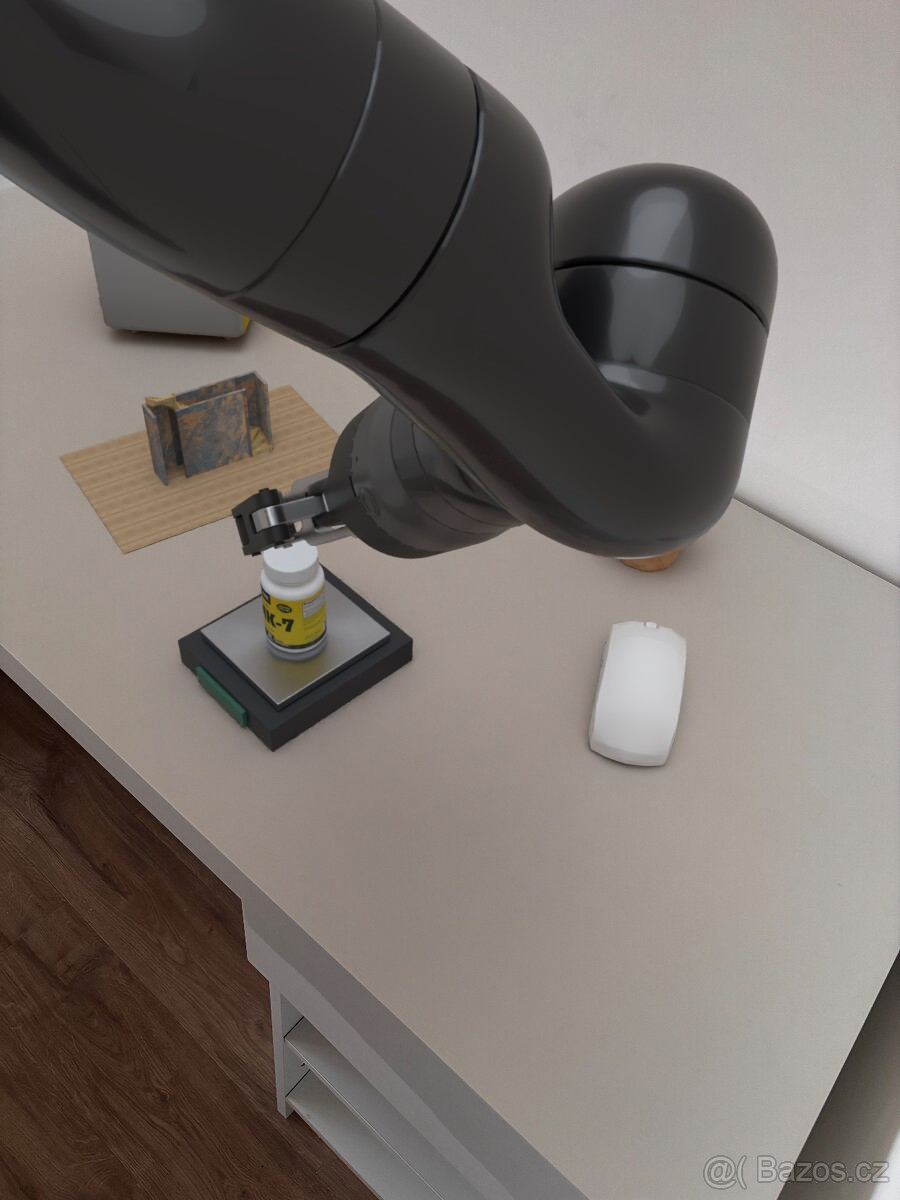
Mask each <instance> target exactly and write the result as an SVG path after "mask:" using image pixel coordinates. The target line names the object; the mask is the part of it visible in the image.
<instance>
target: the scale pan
mask: <svg viewBox="0 0 900 1200" xmlns="http://www.w3.org/2000/svg"><path fill="white" fill-rule="evenodd" d="M325 598H326V621H327V631H326V635H325V637H324V639H323V640H322V641H321V643H320V644H318V645H317V646H316V647H314V648H313V649H311V650H308V651H305V652H299V653H291V652H286V651H283V650H280V649H278V648H276V647H275V646H273V645H272V644H271V643H270V642H269V640H268V638H267V636H266V631H265V622H264V613H263V604H262V596H260V597H258V598H257V599H255V600H253V601H251V602H250V603H248V604H246V605H244V606H242V607H241V608H239V609H237V610H235V611H234V612H232V613H230V614H228V615H226V616H225V617H223V618H221V619H219V620H217V621H216V622H214V623H212V624H210V625H209V626H207V627H205V628H203V629H201V630H200V633H201V637H202V638H203V639H204V640H205V641H206V642H207V643H208V644H209V645H210V646H211V647H212V648H213V649H214V650H215V651H216V652H218V653H219V654H220V655H221V656H222V657H223V658H224V659H225V660H226V661H227V662H228V663H229V664H230V665H231V666H232V667H233V668H234V669H235V670H236V671H237V672H238V673H239V674H240V675H242V676H243V677H244V678H245V679H246V680H247V681H248V682H249V683H250V684H251V685H252V686H253V687H254V688H255V689H256V690H257V691H258V692H259V693H260V694H261V695H262V696H263V697H264V698H266V699H267V700H268V701H269V702H270V703H271V704H272V705H273V706H274V707H275V708H276V709H277V710H278V711H279V710H281V709H282V708H284V707H286V706H287V705H289V704H290V703H292V702H293V701H295V700H297V699H298V698H300V697H301V696H303V695H304V694H306V693H308V692H309V691H311V690H312V689H314V688H315V687H317V686H319V685H320V684H322V683H323V682H325V681H326V680H328V679H330V678H331V677H333V676H334V675H336V674H337V673H339V672H341V671H342V670H344V669H345V668H347V667H348V666H350V665H352V664H353V663H355V662H356V661H358V660H359V659H361V658H363V657H364V656H366V655H367V654H369V653H370V652H372V651H374V650H375V649H377V648H378V647H380V646H381V645H383V644H385V643H386V642H388V641H389V640H390V633H389V632H388V631H387V630H386V629H385V628H383V627H382V626H381V625H380V624H379V623H377V622H376V621H375V620H374V619H373V618H371V617H370V616H369V615H368V614H366V613H365V612H364V611H363V610H362V609H360V608H359V607H358V606H357V605H356V604H354V603H353V602H352V601H351V600H350V599H348V598H347V597H346V596H345V595H344V594H342V593H341V592H340V591H339V590H337V589H336V588H335V587H334V586H333V585H331V584H330V583H329V582H328V581H327V580H325Z"/></svg>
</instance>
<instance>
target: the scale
mask: <svg viewBox="0 0 900 1200" xmlns="http://www.w3.org/2000/svg"><path fill="white" fill-rule="evenodd" d="M319 564H320V565H321V567H322V569H323V572H324V577H325V580H327V581H328V582H329V583H330V584H331V585H333V586H334V587H335V588H336V589H337V590H339V591H340V592H341V593H342V594H344V595H345V596H346V597H347V598H348V599H350V600H351V601H352V602H353V603H354V604H356V605H357V606H358V607H359V608H360V609H362V610H363V611H364V612H365V613H366V614H368V615H369V616H370V617H371V618H373V619H374V620H375V621H376V622H377V623H379V624H380V625H381V626H382V627H383V628H385V629H386V630H387V631H388V632H389V633H390V640H389V641H388V642H386V643H385V644H383V645H381V646H380V647H378V648H377V649H375V650H374V651H372V652H370V653H369V654H367V655H366V656H364V657H363V658H361V659H359V660H358V661H356V662H355V663H353V664H352V665H350V666H348V667H347V668H345V669H344V670H342V671H341V672H339V673H337V674H336V675H334V676H333V677H331V678H330V679H328V680H326V681H325V682H323V683H322V684H320V685H319V686H317V687H315V688H314V689H312V690H311V691H309V692H308V693H306V694H304V695H303V696H301V697H300V698H298V699H297V700H295V701H293V702H292V703H290V704H289V705H287V706H286V707H284V708H282V709H281V710H279V711H278V710H277V709H276V708H275V707H274V706H273V705H272V704H271V703H270V702H269V701H268V700H267V699H266V698H264V697H263V696H262V695H261V694H260V693H259V692H258V691H257V690H256V689H255V688H254V687H253V686H252V685H251V684H250V683H249V682H248V681H247V680H246V679H245V678H244V677H243V676H242V675H240V674H239V673H238V672H237V671H236V670H235V669H234V668H233V667H232V666H231V665H230V664H229V663H228V662H227V661H226V660H225V659H224V658H223V657H222V656H221V655H220V654H219V653H218V652H216V651H215V650H214V649H213V648H212V647H211V646H210V645H209V644H208V643H207V642H206V641H205V640H204V639H203V638H202V637H201V633H200V630H201V629H203V628H205V627H207V626H209V625H210V624H212V623H214V622H216V621H217V620H219V619H221V618H223V617H225V616H226V615H228V614H230V613H232V612H234V611H235V610H237V609H239V608H241V607H242V606H244V605H246V604H248V603H250V602H251V601H253V600H255V599H257V598H258V597H260V596H262V594H261V593H259V594H258V595H256V596H254V597H252V598H251V599H249V600H247V601H245V602H244V603H242V604H240V605H238V606H236V607H234V608H232V609H231V610H229V611H227V612H225V613H224V614H221V615H220V616H219V617H217V618H215V619H213V620H211V621H209V622H207V623H206V624H204V625H202V626H201V627H199V628H197V629H195V630H193V631H192V632H190V633H188V634H186V635H185V636H183V637H181V638H179V639H178V640H177V644H178V649H179V653H180V654H179V655H180V661H181V663H183V665H184V666H186V667H187V668H188V669H189V671H191V672H192V673H193V675H195V676H196V677H197V682H198V683H199V684H200V685H201V686H202V687H203V688H204V689H205V690H206V691H207V692H208V693H209V694H210V696H212V697H213V698H214V699H215V700H216V701H217V702H218V703H219V704H220V705H221V706H222V708H224V709H225V710H226V711H227V712H228V713H229V714H230V715H231V716H232V717H233V718H234V719H235V720H236V722H238V723H239V724H240V725H241V726H242V727H243V728H245V727H247V728H248V729H249V730H250V731H251V732H252V733H253V734H254V735H256V737H257V738H258V739H259V740H260V741H261V742H262V743H263V744H264V745H265V746H266V747H267V748H268V749H269V750H270V751H271V752H275V751H276V750H278V749H279V748H281V747H282V746H284V745H285V744H287V743H288V742H290V741H292V740H293V739H295V738H296V737H298V736H299V735H300V734H302V733H304V732H305V731H307V730H309V729H310V728H311V727H313V726H314V725H316V724H317V723H318V722H321V721H322V720H323V719H325V718H326V717H328V716H330V715H331V714H332V713H334V712H335V711H337V710H339V709H340V708H342V707H343V706H345V705H346V704H348V703H349V702H351V701H352V700H354V699H355V698H357V697H358V696H360V695H361V694H363V693H364V692H366V691H367V690H369V689H370V688H372V687H373V686H375V685H377V684H378V683H380V682H381V681H382V680H384V679H386V678H387V677H389V676H390V675H392V674H393V673H395V672H396V671H397V670H399V669H401V668H403V667H404V666H405V665H407V664H408V663H410V662H412V661H413V652H414V650H413V649H414V638H413V637H411V636H410V635H409V634H407V633H406V632H405V631H404V630H403V629H402V628H400V627H399V626H398V625H397V624H395V622H393V621H392V620H390V619H389V618H388V617H387V616H386V615H385V614H383V613H382V612H381V611H379V610H378V609H377V608H376V606H373V605H372V604H371V603H370V602H369V601H367V600H366V599H365V598H364V597H362V596H361V595H360V594H359V593H358V592H356V591H355V590H354V589H353V588H351V587H350V586H349V585H348V584H347V583H346V582H344V581H343V580H341V578H339V577H338V576H337V575H335V573H333V572H332V571H331V570H329V569H328V568H327V567H326V566H325V565H323V564H322V563H321V562H320V561H319Z"/></svg>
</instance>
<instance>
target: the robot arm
mask: <svg viewBox="0 0 900 1200" xmlns="http://www.w3.org/2000/svg"><path fill="white" fill-rule="evenodd" d="M0 175H1V176H2V177H3V178H5V179H7V180H8V181H9V182H10V183H12V184H14V185H15V186H16V187H19V188H20V189H21V190H22V191H25V192H26V193H27V194H28V195H30V196H31V197H33V198H34V199H36V200H37V201H39V202H40V203H42V204H44V205H45V206H46V207H48V208H49V209H51V210H52V211H54V212H56V213H57V214H59V215H60V216H62V217H64V218H65V219H67V220H68V221H69V222H71V223H73V224H75V225H76V226H78V227H79V228H80V229H82V230H83V231H86V233H87V232H89V233H91V234H92V235H94V236H96V237H97V238H99V239H101V240H102V241H104V242H106V243H108V244H109V245H111V246H113V247H114V248H116V249H118V250H119V251H121V252H123V253H125V254H126V255H128V256H130V257H132V258H134V259H136V260H137V261H139V262H141V263H143V264H145V265H147V266H148V267H150V268H152V269H154V270H156V271H157V272H159V273H161V274H163V275H165V276H167V277H168V278H170V279H172V280H174V281H176V282H178V283H180V284H182V285H184V286H186V287H188V288H190V289H191V290H193V291H195V292H197V293H199V294H201V295H203V296H205V297H208V298H209V299H211V300H213V301H215V302H217V303H219V304H221V305H223V306H225V307H227V308H229V309H231V310H233V311H235V312H237V313H239V314H241V315H243V316H245V317H247V318H249V319H250V320H251V321H253V322H255V323H257V324H260V325H261V326H263V327H265V328H267V329H269V330H272V331H273V332H275V333H277V334H279V335H281V336H284V337H286V338H287V339H290V340H292V341H293V342H296V343H298V344H299V345H301V346H304V347H306V348H309V349H311V350H312V351H314V352H316V353H317V354H320V355H322V356H325V357H327V358H329V359H331V360H333V361H334V362H336V363H338V364H340V365H342V366H344V367H345V368H347V369H348V370H350V371H351V372H352V373H354V374H355V375H356V376H358V378H360V379H361V380H363V381H364V382H365V383H366V384H368V386H370V388H372V389H373V390H374V391H376V393H378V394H379V396H378V397H377V398H376V399H374V400H373V401H372V402H370V403H369V404H368V405H367V406H366V407H365V408H363V409H362V410H361V411H360V412H358V413H357V414H355V416H354V417H353V418H351V420H350V421H349V422H348V423H347V424H346V426H345V427H344V428H343V430H342V431H341V433H340V434H339V436H340V437H339V438H338V441H337V443H336V445H335V448H334V451H333V454H332V458H331V463H330V468H329V469H326V470H324V471H321V472H318V473H315V474H312V475H310V476H307V477H304V478H301V479H298V480H296V481H294V482H293V483H292V486H291V491H290V493H289V494H286V495H283V496H282V492H281V491H280V490H277V489H270V490H269V488H264V489H260V490H258V491H259V493H256V494H253V495H252V496H250V497H249V498H247V499H246V500H244V501H243V502H241V503H240V504H238V505H237V506H236V507H234V508H233V509H231V512H232V515H231V516H232V518H233V520H234V521H235V525H236V529H237V532H238V536H239V539H240V543H241V549H242V553H243V556H244V557H245V556H250V555H251V557H252V558H253V557H257V556H261V555H262V552H264V551H265V550H268V549H270V548H272V547H274V548H275V549H278V548H281V547H283V549H285V548H289V547H292V546H293V545H292V544H293V543H297V542H300V541H303V540H305V541H306V542H307V543H308V544H309V545H310V546H316V547H317V546H321V545H326V544H329V543H333V542H336V541H340V540H341V539H346V538H349V537H352V538H354V539H359V540H360V541H361V542H362V543H364V544H365V545H367V546H368V547H369V548H371V549H373V550H374V551H377V552H379V553H381V554H384V555H387V556H389V557H393V558H397V559H404V560H413V559H414V560H416V559H417V560H418V559H425V558H430V557H434V556H438V555H442V554H446V553H449V552H453V551H457V550H460V549H464V548H468V547H472V546H475V545H479V544H483V543H485V542H488V541H490V540H492V539H494V538H495V539H496V538H497V537H499V536H500V535H502V534H504V533H505V532H507V531H509V530H510V529H513V528H517V527H521V526H524V525H527V526H528V527H529V528H531V529H532V530H534V531H535V532H537V533H539V534H540V535H543V536H544V537H546V538H548V539H550V540H552V541H554V542H556V543H558V544H560V545H563V546H565V547H568V548H571V549H573V550H576V551H580V552H582V553H585V554H589V555H593V556H598V557H603V558H609V559H616V560H617V559H618V560H619V559H643V558H650V557H657V556H660V555H664V554H667V553H670V552H673V551H676V550H679V549H681V548H682V549H683V548H686V547H687V546H689V545H690V544H692V543H693V542H695V541H697V540H699V539H701V538H702V537H703V536H704V535H706V534H707V533H708V532H709V531H710V530H711V529H712V528H713V527H715V526H716V525H717V524H718V522H719V521H720V520H721V519H722V517H724V514H725V513H726V512H727V510H728V508H729V506H730V504H731V502H732V500H733V497H734V494H735V492H736V490H737V487H738V485H739V481H740V477H741V473H742V469H743V464H744V461H745V455H746V450H747V444H748V440H749V436H750V435H749V434H750V428H751V423H752V418H753V413H754V408H755V404H756V398H757V394H758V389H759V384H760V379H761V374H762V369H763V364H764V360H765V355H766V349H767V344H768V339H769V335H770V330H771V326H772V321H773V316H774V311H775V306H776V301H777V295H778V285H779V260H778V254H777V248H776V244H775V239H774V236H773V232H772V230H771V229H770V227H769V224H768V222H767V221H766V219H765V217H764V216H763V214H762V212H761V211H760V209H759V207H757V205H756V204H755V203H754V201H753V200H752V199H751V198H750V197H749V196H748V195H746V194H745V193H744V192H743V191H742V190H740V189H739V188H738V187H737V186H736V185H734V184H732V183H731V182H730V181H728V180H727V179H724V177H722V176H719V175H717V174H716V173H713V172H711V171H708V170H705V169H702V168H699V167H694V166H691V165H684V164H680V163H679V164H678V163H672V162H643V163H636V164H628V165H625V166H620V167H619V166H618V167H616V168H614V169H610V170H606V171H604V172H601V173H599V174H596V175H594V176H592V177H589V178H587V179H585V180H583V181H581V182H579V183H577V184H575V185H573V186H572V187H569V188H568V189H567V190H565V191H563V192H562V193H561V194H559V195H558V196H557V197H555V198H553V196H554V195H553V194H554V193H553V191H554V190H553V179H552V171H551V167H550V164H549V160H548V156H547V154H546V151H545V148H544V146H543V143H542V141H541V139H540V137H539V134H538V133H537V131H536V129H535V128H534V127H533V125H532V124H531V122H530V121H529V120H528V118H526V116H525V115H524V113H522V112H521V111H520V110H519V109H518V107H516V106H515V105H514V103H512V102H511V101H510V100H509V99H508V98H507V97H506V96H505V95H504V94H503V93H501V92H500V90H498V89H497V88H495V86H493V85H492V84H491V83H489V81H487V80H486V79H484V78H483V77H482V76H481V75H480V74H478V73H477V72H475V71H474V70H473V69H472V68H471V67H469V66H467V65H466V64H465V63H463V62H462V60H460V58H458V57H457V56H456V55H454V54H453V53H452V52H450V51H449V50H448V49H447V48H445V47H444V46H443V45H442V44H441V43H440V42H438V40H436V39H434V38H433V37H432V36H431V35H430V34H428V33H427V32H426V31H424V30H423V29H422V28H420V27H419V26H418V25H417V24H415V23H414V22H413V21H412V20H410V19H409V18H408V17H406V16H405V15H404V14H403V13H402V12H400V11H399V10H398V9H396V8H395V7H394V6H393V5H391V4H390V3H389V2H388V1H387V0H0ZM298 522H301V528H300V530H298V531H297V529H296V525H295V523H298ZM337 526H338V528H333V527H337ZM339 526H341V527H339ZM682 549H681V550H682Z"/></svg>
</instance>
